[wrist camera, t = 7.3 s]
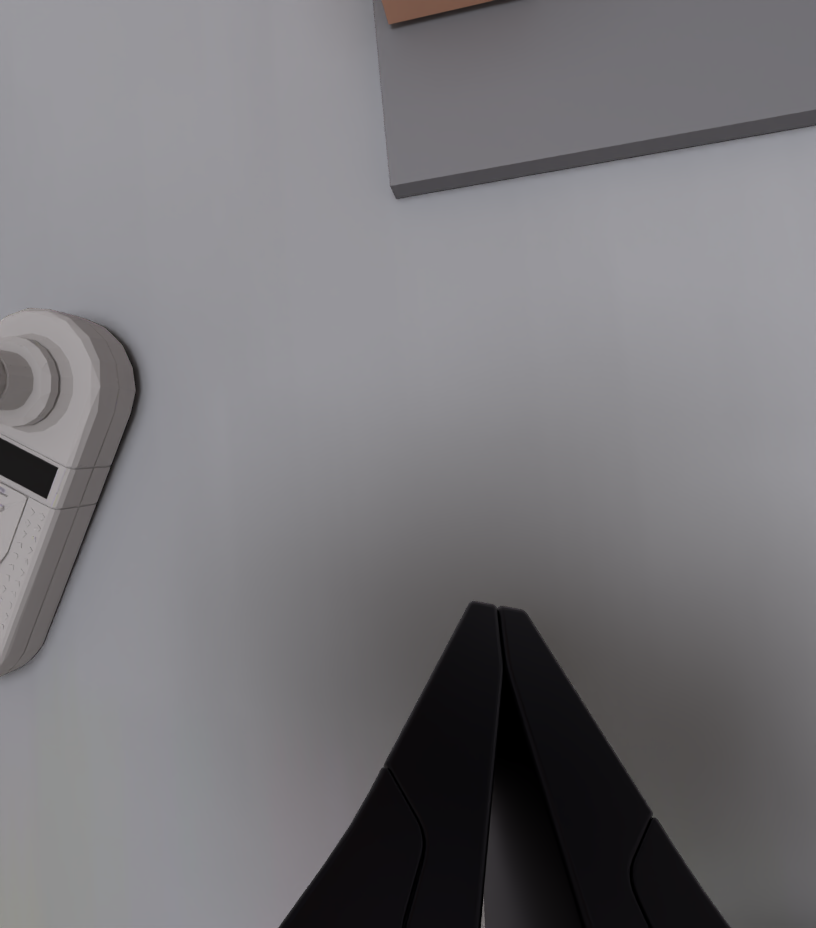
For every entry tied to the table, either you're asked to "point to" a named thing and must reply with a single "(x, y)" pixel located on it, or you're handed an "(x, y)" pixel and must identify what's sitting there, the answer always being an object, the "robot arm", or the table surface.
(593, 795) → the robot arm
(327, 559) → the table surface
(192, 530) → the table surface
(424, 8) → the key
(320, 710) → the table surface
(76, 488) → the electronic device
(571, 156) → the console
